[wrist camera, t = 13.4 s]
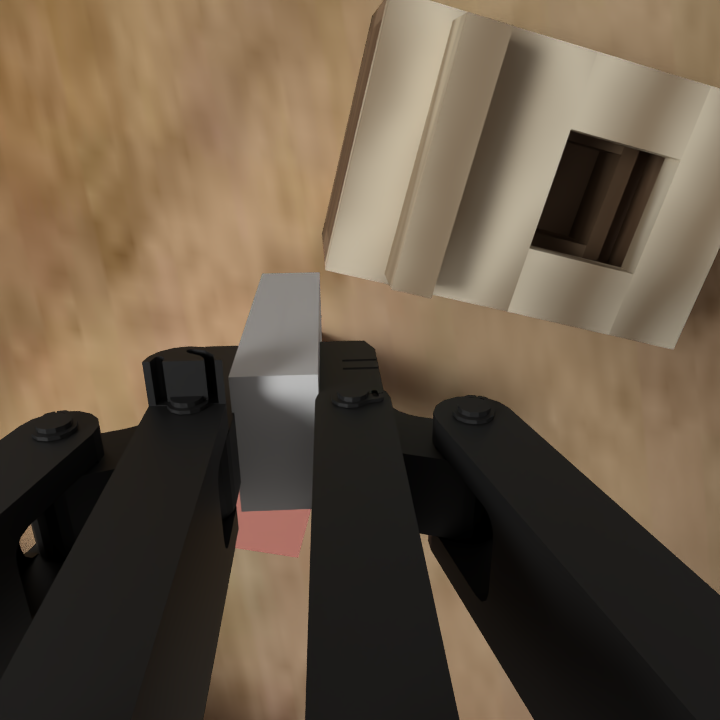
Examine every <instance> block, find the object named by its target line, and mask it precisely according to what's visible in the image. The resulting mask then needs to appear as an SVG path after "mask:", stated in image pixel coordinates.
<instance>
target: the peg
mask: <svg viewBox="0 0 720 720" xmlns="http://www.w3.org/2000/svg"><path fill="white" fill-rule="evenodd" d="M236 506H237V516H238V526H239V530H238V535H237V541H236V546H235V548H239V549H245V550H252V551H258V552H265V553H271V554H278V555H284V556H291V557H297V558H298V556H299V553H300V549H301V545H302V541H303V537H304V534H305V530H306V526H307V522H308V518H309V515H310V511H311V509H298V510H272V511H247V512H241V501H240V491H239V495H238V500H237V505H236Z"/></svg>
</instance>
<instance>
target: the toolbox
mask: <svg viewBox="0 0 720 720" xmlns="http://www.w3.org/2000/svg"><path fill="white" fill-rule="evenodd" d="M386 1H387V0H384V1H383V2H382V3H381V5H380V6H379V7H378V9H377V10H376V12H375V13H374V14H373V16H372V19H371V24H370V28H369V32H368V37H367V41H366V45H365V50H364V54H363V58H362V63H361V67H360V71H359V76H358V80H357V84H356V89H355V93H354V97H353V102H352V106H351V111H350V115H349V119H348V124H347V128H346V132H345V137H344V141H343V145H342V150H341V154H340V158H339V163H338V167H337V171H336V176H335V180H334V185H333V189H332V193H331V198H330V202H329V206H328V211H327V215H326V219H325V224H324V228H323V232H322V238H323V249H324V259H325V261H326V256H327V252H328V248H329V244H330V239H331V235H332V231H333V227H334V222H335V218H336V214H337V210H338V205H339V201H340V197H341V193H342V188H343V184H344V180H345V176H346V171H347V167H348V163H349V159H350V154H351V150H352V146H353V142H354V137H355V133H356V129H357V125H358V120H359V116H360V112H361V108H362V103H363V99H364V95H365V90H366V86H367V82H368V78H369V73H370V69H371V65H372V61H373V56H374V52H375V48H376V44H377V39H378V35H379V31H380V27H381V22H382V18H383V14H384V10H385V5H386ZM664 160H665V157H662V156H658V155H655V154H651V153H647V152H644V151H640V150H637V149H633V148H630V147H626V146H623V145H619V144H615V143H612V142H608V141H605V140H601V139H598V138H594V137H590V136H587V135H583V134H580V133H576V132H573V131H570V133H569V136H568V139H567V142H566V145H565V148H564V150H563V153H562V156H561V159H560V162H559V165H558V168H557V171H556V173H555V176H554V179H553V182H552V185H551V188H550V191H549V194H548V196H547V199H546V202H545V205H544V208H543V211H542V214H541V217H540V219H539V222H538V225H537V228H536V231H535V234H534V237H533V240H532V242H531V245H532V246H536V247H540V248H544V249H548V250H552V251H556V252H560V253H564V254H568V255H572V256H576V257H580V258H584V259H588V260H592V261H596V262H600V263H604V264H609V265H613V266H617V267H621V266H622V264H623V261H624V259H625V256H626V254H627V251H628V249H629V246H630V244H631V242H632V239H633V237H634V234H635V232H636V229H637V227H638V224H639V222H640V219H641V217H642V214H643V212H644V209H645V207H646V204H647V202H648V199H649V197H650V194H651V192H652V190H653V187H654V185H655V182H656V180H657V177H658V175H659V172H660V170H661V167H662V165H663V162H664Z"/></svg>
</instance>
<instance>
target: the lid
mask: <svg viewBox="0 0 720 720" xmlns="http://www.w3.org/2000/svg"><path fill="white" fill-rule="evenodd" d="M570 131H573V132H576V133H580V134H583V135H587V136H590V137H594V138H598V139H601V140H605V141H608V142H612V143H615V144H619V145H623V146H626V147H630V148H633V149H637V150H640V151H644V152H647V153H651V154H655V155H658V156H662V157H665V160H664V162H663V165H662V167H661V170H660V172H659V175H658V177H657V180H656V182H655V185H654V187H653V190H652V192H651V194H650V197H649V199H648V202H647V204H646V207H645V209H644V212H643V214H642V217H641V219H640V222H639V224H638V227H637V229H636V232H635V234H634V237H633V239H632V242H631V244H630V246H629V249H628V251H627V254H626V256H625V259H624V261H623V264H622V266H621V267H617V266H613V265H609V264H604V263H600V262H596V261H592V260H588V259H584V258H580V257H576V256H572V255H568V254H564V253H560V252H556V251H552V250H548V249H544V248H540V247H536V246H532V245H531V242H532V240H533V237H534V234H535V231H536V228H537V225H538V222H539V219H540V217H541V214H542V211H543V208H544V205H545V202H546V199H547V196H548V194H549V191H550V188H551V185H552V182H553V179H554V176H555V173H556V171H557V168H558V165H559V162H560V159H561V156H562V153H563V150H564V148H565V145H566V142H567V139H568V136H569V133H570ZM719 248H720V89H719V88H716V87H713V86H709V85H706V84H703V83H700V82H696V81H693V80H690V79H686V78H683V77H680V76H677V75H673V74H670V73H667V72H663V71H660V70H657V69H654V68H650V67H647V66H644V65H640V64H637V63H634V62H631V61H627V60H624V59H621V58H618V57H614V56H611V55H608V54H604V53H601V52H598V51H595V50H591V49H588V48H585V47H581V46H578V45H575V44H572V43H568V42H565V41H562V40H558V39H555V38H552V37H549V36H545V35H542V34H539V33H535V32H532V31H529V30H526V29H522V28H519V27H516V26H513V25H510V24H507V23H503V22H500V21H497V20H494V19H490V18H487V17H484V16H480V15H477V14H474V13H471V12H467V11H463V10H460V9H457V8H453V7H450V6H447V5H444V4H440V3H437V2H434V1H430V0H387V1H386V5H385V10H384V14H383V18H382V22H381V27H380V31H379V35H378V39H377V44H376V48H375V52H374V56H373V61H372V65H371V69H370V73H369V78H368V82H367V86H366V90H365V95H364V99H363V103H362V108H361V112H360V116H359V120H358V125H357V129H356V133H355V137H354V142H353V146H352V150H351V154H350V159H349V163H348V167H347V171H346V176H345V180H344V184H343V188H342V193H341V197H340V201H339V205H338V210H337V214H336V218H335V222H334V227H333V231H332V235H331V239H330V244H329V248H328V252H327V256H326V261H325V270H327V271H332V272H336V273H341V274H345V275H349V276H354V277H358V278H362V279H367V280H371V281H376V282H380V283H384V284H389V286H390V288H391V290H396V291H400V292H404V293H409V294H413V295H418V296H422V297H426V298H432V295H437V296H441V297H446V298H450V299H454V300H459V301H463V302H467V303H472V304H476V305H481V306H485V307H489V308H494V309H498V310H502V311H507V312H511V313H516V314H520V315H524V316H529V317H533V318H537V319H542V320H546V321H551V322H555V323H559V324H564V325H568V326H572V327H577V328H581V329H585V330H590V331H594V332H599V333H603V334H607V335H612V336H616V337H620V338H625V339H629V340H634V341H638V342H642V343H647V344H651V345H655V346H660V347H664V348H669V349H674V347H675V345H676V343H677V340H678V338H679V336H680V334H681V332H682V329H683V327H684V325H685V323H686V321H687V318H688V316H689V314H690V312H691V310H692V307H693V305H694V303H695V301H696V299H697V296H698V294H699V292H700V290H701V288H702V285H703V283H704V281H705V279H706V277H707V274H708V272H709V270H710V268H711V266H712V263H713V261H714V259H715V257H716V255H717V252H718V250H719Z"/></svg>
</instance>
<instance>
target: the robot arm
mask: <svg viewBox="0 0 720 720" xmlns="http://www.w3.org/2000/svg"><path fill="white" fill-rule="evenodd" d="M142 365H143V371H144V378H145V384H146V391H147V397H148V404H149V407H148V409H147V411H146V412H145V414H144V416H143V418H142V420H141V422H140V424H139V425H138V426H135V427H131V428H126V429H122V430H117V431H111V432H106V433H101V432H100V426H99V421H98V418H96V417H95V416H94V415H92V414H90V413H85V412H81V411H66V410H64V411H57V413H55V412H51V413H47V414H44V415H43V416H41V417H38V418H35V419H32V420H30V421H28V422H27V423H25V424H23V425H21V426H19V427H18V428H16V429H15V430H14V431H12V432H11V433H9V434H8V435H7V436H5V437H4V438H3V439H1V440H0V720H203V717H204V712H205V707H206V701H207V696H208V690H209V685H210V680H211V674H212V669H213V664H214V658H215V653H216V648H217V642H218V637H219V632H220V626H221V621H222V616H223V610H224V605H225V599H226V594H227V589H228V583H229V578H230V573H231V567H232V562H233V557H234V551H235V546H236V541H237V535H238V530H239V526H238V516H237V506H236V505H237V500H238V495H239V491H240V501H241V512H247V511H272V510H298V509H312V516H311V548H310V581H309V613H308V646H307V678H306V710H305V720H459V715H458V711H457V706H456V701H455V697H454V692H453V687H452V683H451V678H450V673H449V669H448V664H447V659H446V655H445V650H444V645H443V641H442V636H441V631H440V627H439V622H438V617H437V613H436V608H435V603H434V599H433V594H432V589H431V585H430V580H429V575H428V571H427V566H426V561H425V557H424V552H423V547H422V543H421V538H420V533H421V534H426V535H428V542H429V545H430V548H431V551H432V552H433V554H434V556H435V557H436V559H437V561H438V562H439V564H440V566H441V567H442V569H443V571H444V572H445V574H446V575H447V577H448V579H449V580H450V582H451V584H452V585H453V587H454V589H455V590H456V592H457V594H458V595H459V597H460V599H461V600H462V602H463V603H464V605H465V607H466V608H467V610H468V612H469V613H470V615H471V617H472V618H473V620H474V622H475V623H476V625H477V626H478V628H479V630H480V631H481V633H482V635H483V636H484V638H485V640H486V641H487V643H488V645H489V646H490V648H491V650H492V651H493V653H494V654H495V656H496V658H497V659H498V661H499V663H500V664H501V666H502V668H503V669H504V671H505V673H506V674H507V676H508V678H509V679H510V681H511V682H512V684H513V686H514V687H515V689H516V691H517V692H518V694H519V696H520V697H521V699H522V701H523V702H524V704H525V706H526V707H527V709H528V710H529V712H530V714H531V715H532V717H533V719H534V720H720V595H719V594H718V593H717V592H716V591H715V590H713V589H712V588H711V587H710V586H709V585H708V584H707V583H706V582H704V581H703V580H702V579H701V578H700V577H699V576H698V575H696V574H695V573H694V572H693V571H692V570H691V569H690V568H689V567H687V566H686V565H685V564H684V563H683V562H682V561H681V560H680V559H678V558H677V557H676V556H675V555H674V554H673V553H672V552H671V551H669V550H668V549H667V548H666V547H665V546H664V545H663V544H662V543H660V542H659V541H658V540H657V539H656V538H655V537H654V536H653V535H651V534H650V533H649V532H648V531H647V530H646V529H645V528H644V527H642V526H641V525H640V524H639V523H638V522H637V521H636V520H635V519H633V518H632V517H631V516H630V515H629V514H628V513H627V512H626V511H624V510H623V509H622V508H621V507H620V506H619V505H618V504H617V503H615V502H614V501H613V500H612V499H611V498H610V497H609V496H608V495H606V494H605V493H604V492H603V491H602V490H601V489H600V488H598V487H597V486H596V485H595V484H594V483H593V482H592V481H591V480H589V479H588V478H587V477H586V476H585V475H584V474H583V473H582V472H580V471H579V470H578V469H577V468H576V467H575V466H574V465H573V464H571V463H570V462H569V461H568V460H567V459H566V458H565V457H564V456H562V455H561V454H560V453H559V452H558V451H557V450H556V449H555V448H553V447H552V446H551V445H550V444H549V443H548V442H547V441H546V440H544V439H543V438H542V437H541V436H540V435H539V434H538V433H537V432H535V431H534V430H533V429H532V428H531V427H530V426H529V425H528V424H526V423H525V422H524V421H523V420H522V419H521V418H520V417H519V416H517V415H516V414H515V413H514V412H513V411H512V410H511V409H510V408H508V407H506V406H505V405H503V404H501V403H500V402H497V401H494V400H491V399H488V398H486V397H482V396H478V397H476V396H475V395H467V396H465V397H455V398H451V399H447V400H444V401H442V402H441V403H439V404H438V405H436V407H435V410H434V412H433V419H431V418H424V417H417V416H412V415H408V414H405V413H402V412H399V411H398V410H396V409H394V408H393V407H392V402H391V398H390V396H389V395H388V393H387V392H386V391H384V390H383V387H382V382H381V377H380V372H379V367H378V362H377V357H376V352H375V349H374V348H373V347H372V346H370V345H369V344H368V343H366V342H365V341H331V342H322V331H321V301H320V272H316V273H271V274H262V276H261V279H260V282H259V285H258V288H257V291H256V295H255V298H254V301H253V304H252V307H251V310H250V313H249V316H248V319H247V322H246V325H245V328H244V331H243V334H242V337H241V340H240V343H239V346H213V347H190V346H189V347H179V348H172V349H168V350H164V351H160V352H158V353H155V354H153V355H151V356H149V357H148V358H146V359H145V360H144V361H143V362H142ZM30 524H31V526H32V530H33V534H34V538H35V542H36V544H35V545H34V546H33V547H32V548H31V549H30V550H29V551H28V552H26V553H25V554H23V552H22V550H21V547H20V544H19V541H20V538H21V536H22V535H23V533H24V532H25V530H26V529H27V528H28V526H29V525H30Z"/></svg>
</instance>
